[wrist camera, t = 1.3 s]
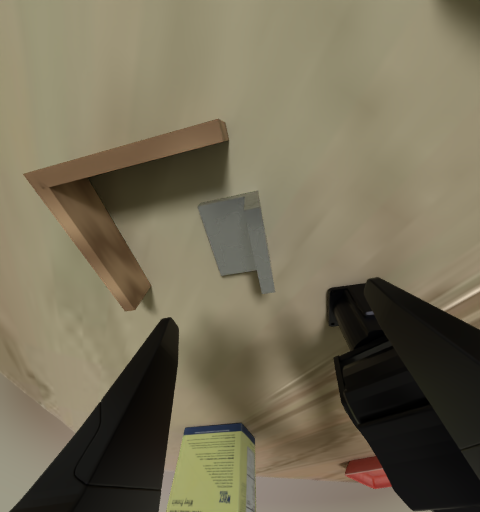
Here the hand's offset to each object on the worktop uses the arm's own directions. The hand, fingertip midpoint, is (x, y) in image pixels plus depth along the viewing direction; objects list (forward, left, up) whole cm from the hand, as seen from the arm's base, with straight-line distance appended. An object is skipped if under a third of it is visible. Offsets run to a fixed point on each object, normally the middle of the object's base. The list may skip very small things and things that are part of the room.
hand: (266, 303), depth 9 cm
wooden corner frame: (+1, +8, -12) cm, 14 cm away
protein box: (-55, +19, -12) cm, 59 cm away
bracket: (-2, +2, -12) cm, 12 cm away
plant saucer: (-81, -23, -12) cm, 85 cm away
